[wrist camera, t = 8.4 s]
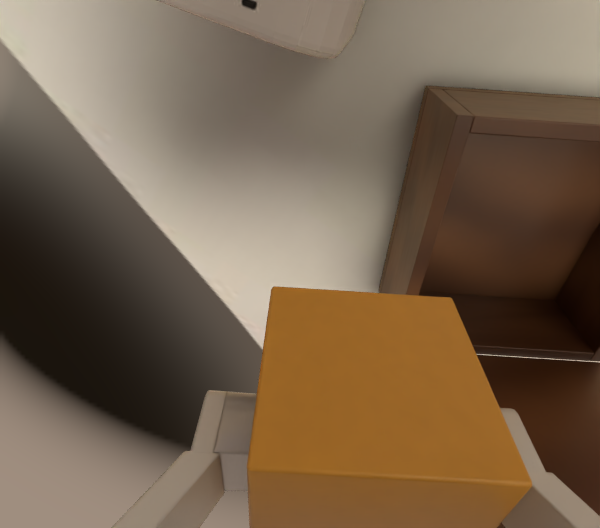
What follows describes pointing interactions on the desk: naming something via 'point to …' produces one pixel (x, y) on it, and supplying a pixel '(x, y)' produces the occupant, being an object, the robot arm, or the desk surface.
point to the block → (376, 418)
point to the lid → (555, 415)
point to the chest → (505, 219)
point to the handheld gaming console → (285, 21)
